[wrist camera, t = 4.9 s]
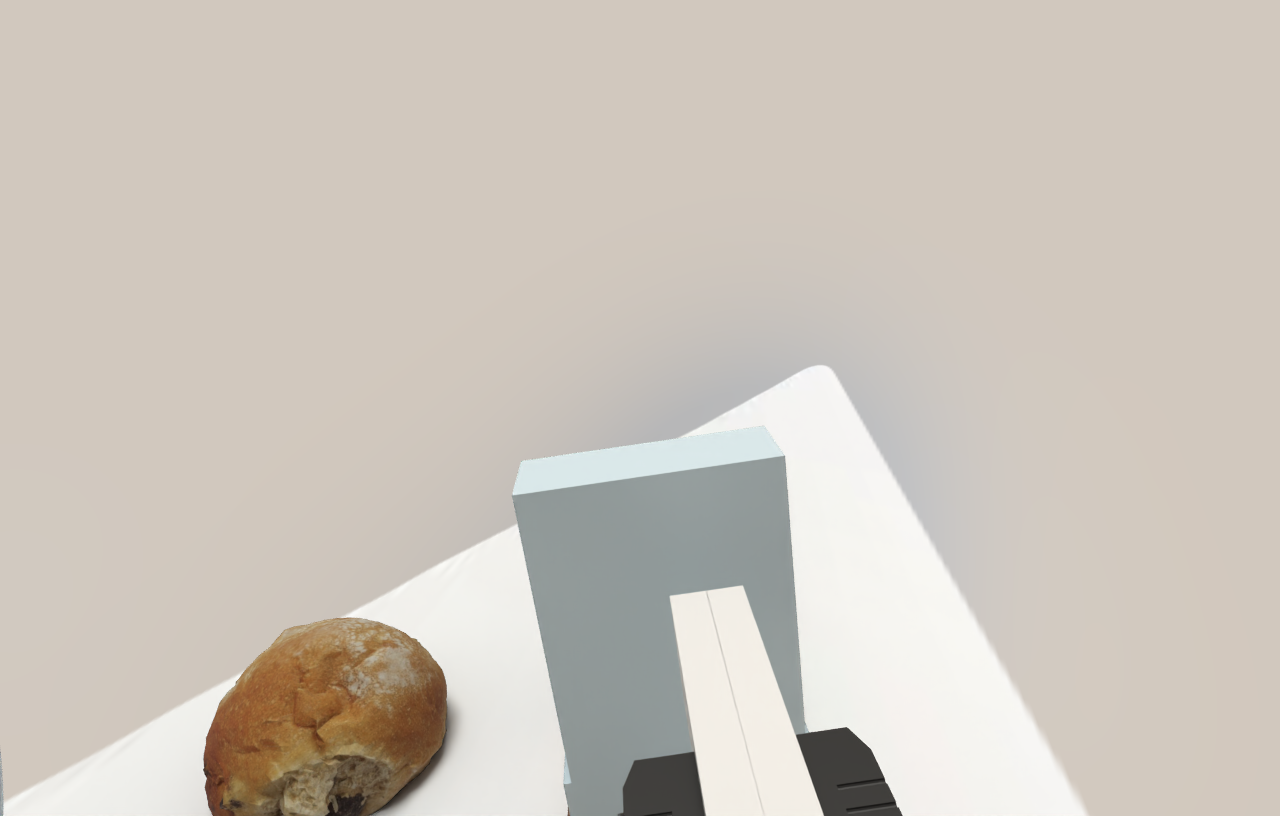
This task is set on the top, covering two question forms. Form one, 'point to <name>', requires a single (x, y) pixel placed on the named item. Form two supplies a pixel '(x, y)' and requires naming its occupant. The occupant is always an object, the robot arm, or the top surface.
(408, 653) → the bread roll
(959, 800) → the top surface
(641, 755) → the slotted grey-blue plate
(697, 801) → the robot arm
